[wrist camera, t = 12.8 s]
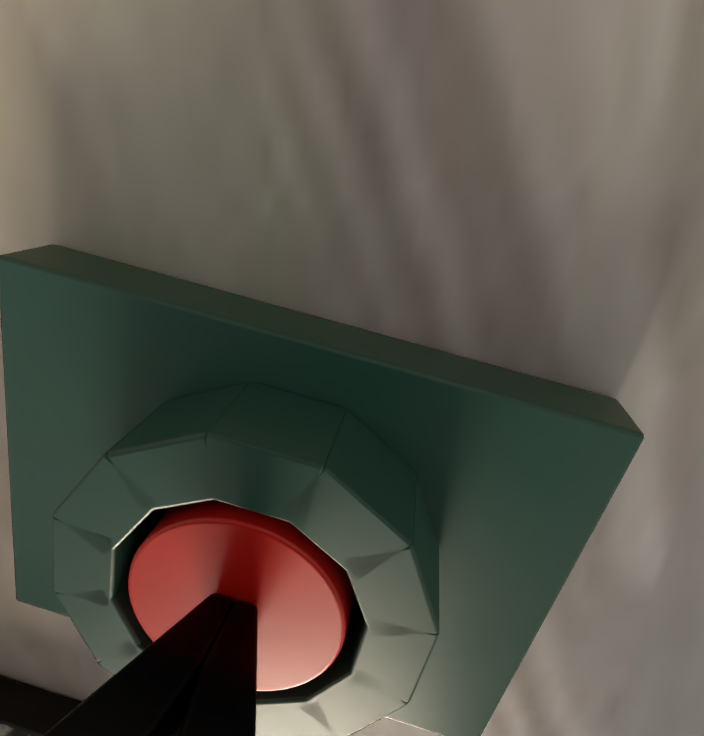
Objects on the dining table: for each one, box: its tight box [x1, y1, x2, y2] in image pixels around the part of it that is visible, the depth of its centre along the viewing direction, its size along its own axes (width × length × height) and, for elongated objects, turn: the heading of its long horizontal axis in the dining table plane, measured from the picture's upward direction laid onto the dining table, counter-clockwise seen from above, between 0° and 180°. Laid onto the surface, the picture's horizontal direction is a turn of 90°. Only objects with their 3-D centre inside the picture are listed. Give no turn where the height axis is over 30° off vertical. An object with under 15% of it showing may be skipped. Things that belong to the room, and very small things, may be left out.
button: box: [128, 500, 354, 691], centre depth 10 cm, size 4×4×2 cm
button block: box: [0, 244, 644, 736], centre depth 10 cm, size 12×9×4 cm
